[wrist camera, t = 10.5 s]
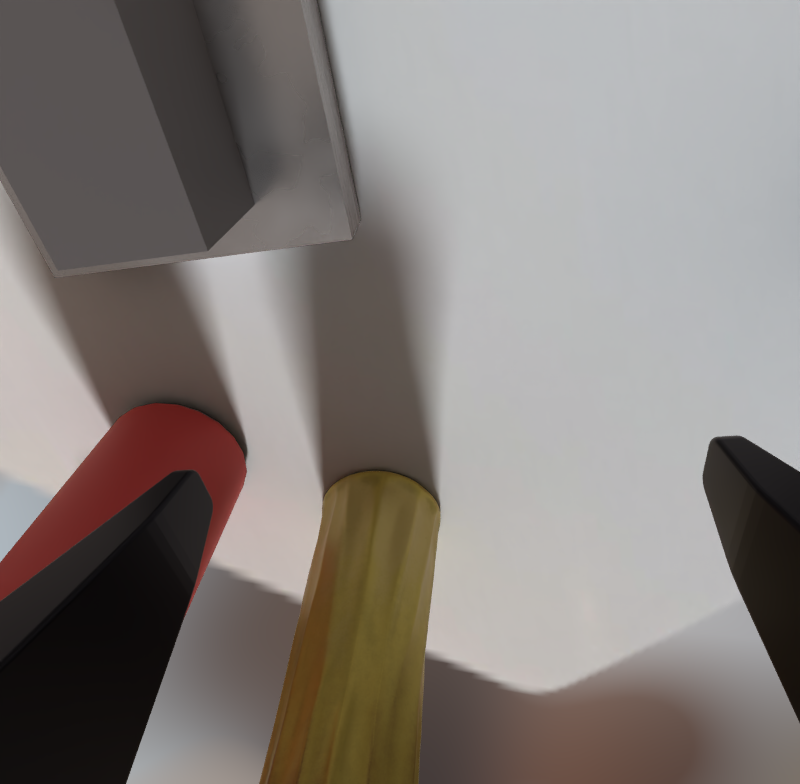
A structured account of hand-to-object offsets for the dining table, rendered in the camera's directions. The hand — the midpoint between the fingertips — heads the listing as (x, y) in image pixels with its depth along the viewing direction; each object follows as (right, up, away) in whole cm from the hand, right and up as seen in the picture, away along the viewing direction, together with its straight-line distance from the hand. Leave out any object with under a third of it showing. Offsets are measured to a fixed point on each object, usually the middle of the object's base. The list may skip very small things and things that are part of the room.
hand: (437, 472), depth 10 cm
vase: (-2, -5, +19) cm, 19 cm away
